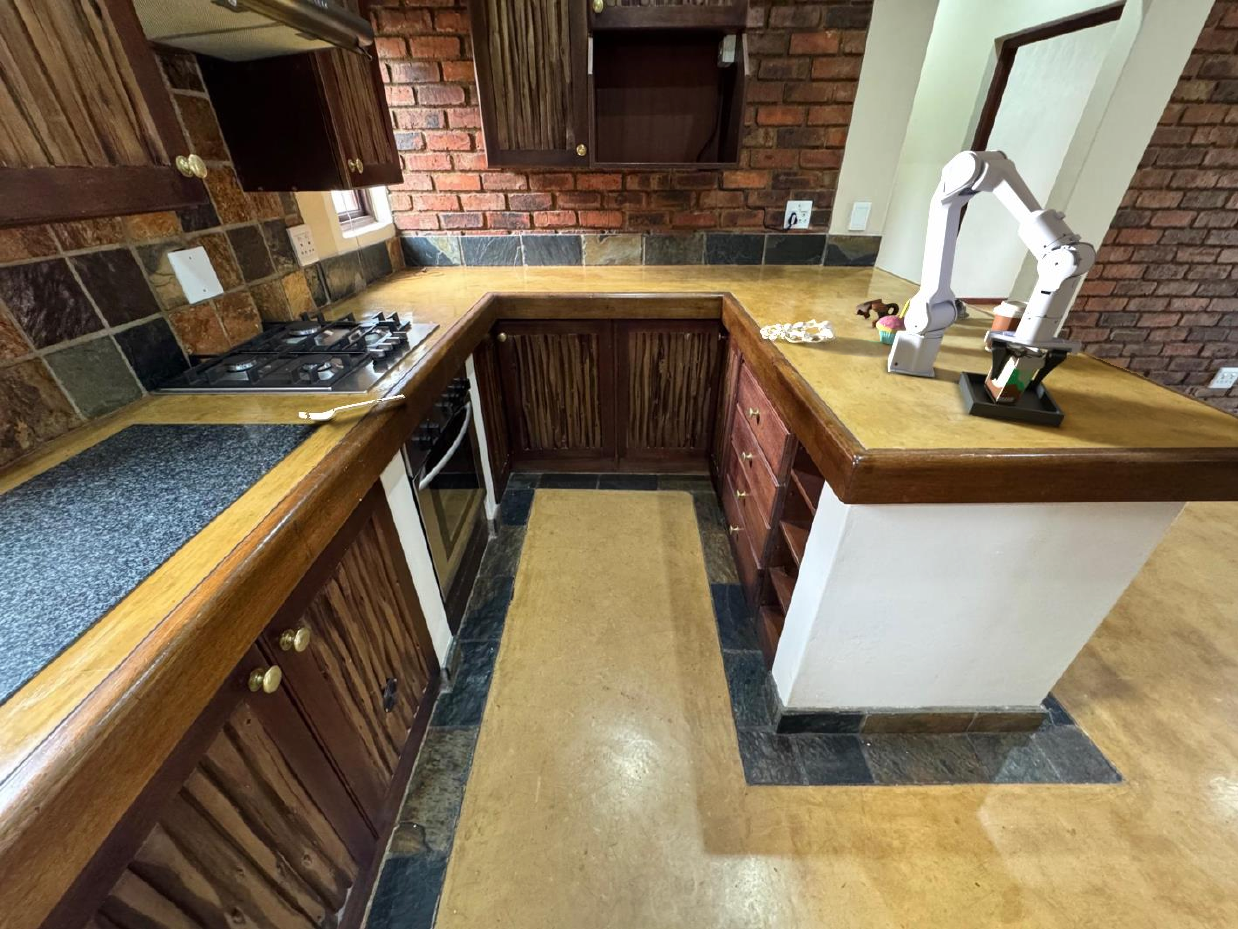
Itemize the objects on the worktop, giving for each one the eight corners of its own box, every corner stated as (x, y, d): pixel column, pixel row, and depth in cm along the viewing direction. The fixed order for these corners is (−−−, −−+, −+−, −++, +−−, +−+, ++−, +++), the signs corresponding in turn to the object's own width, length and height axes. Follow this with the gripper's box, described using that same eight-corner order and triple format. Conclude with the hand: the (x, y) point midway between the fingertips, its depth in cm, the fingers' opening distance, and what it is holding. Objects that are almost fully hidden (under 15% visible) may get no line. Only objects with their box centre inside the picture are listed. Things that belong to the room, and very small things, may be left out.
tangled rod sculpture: (758, 348, 134) (760, 334, 131) (761, 328, 145) (763, 315, 142) (834, 352, 129) (837, 337, 126) (831, 331, 140) (834, 317, 137)
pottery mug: (863, 330, 143) (858, 302, 143) (853, 335, 152) (848, 309, 152) (906, 320, 141) (901, 291, 140) (893, 325, 150) (888, 299, 150)
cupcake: (908, 340, 134) (922, 295, 128) (904, 349, 128) (919, 302, 122) (874, 335, 138) (886, 291, 132) (869, 343, 132) (881, 298, 126)
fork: (406, 401, 106) (404, 393, 105) (302, 425, 97) (299, 417, 96) (403, 396, 108) (401, 388, 107) (301, 419, 99) (298, 411, 98)
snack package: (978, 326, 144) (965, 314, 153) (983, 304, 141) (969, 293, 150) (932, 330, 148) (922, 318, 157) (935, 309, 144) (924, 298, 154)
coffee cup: (1004, 344, 130) (1024, 298, 123) (1030, 356, 122) (1052, 307, 116) (971, 345, 130) (989, 299, 123) (994, 357, 122) (1014, 308, 116)
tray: (968, 414, 96) (973, 402, 95) (957, 381, 110) (961, 371, 108) (1059, 427, 91) (1065, 415, 90) (1036, 391, 104) (1041, 380, 103)
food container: (1033, 412, 94) (1059, 363, 88) (996, 407, 96) (1020, 358, 90) (1015, 387, 104) (1037, 342, 98) (981, 383, 105) (1002, 338, 100)
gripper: (1091, 314, 90) (1056, 382, 97) (997, 304, 97) (971, 368, 104) (1096, 323, 85) (1059, 395, 92) (996, 312, 92) (970, 379, 99)
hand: (1012, 381), depth 98 cm, fingers closed on food container, 6 cm apart
